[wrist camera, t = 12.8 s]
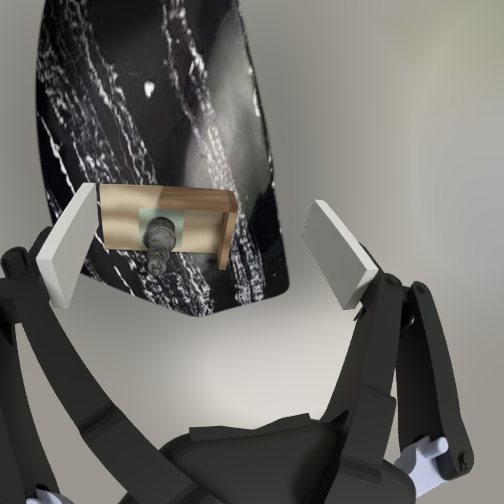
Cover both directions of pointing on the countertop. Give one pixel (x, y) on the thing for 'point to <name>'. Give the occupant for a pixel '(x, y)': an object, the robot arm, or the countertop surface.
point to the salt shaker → (159, 243)
